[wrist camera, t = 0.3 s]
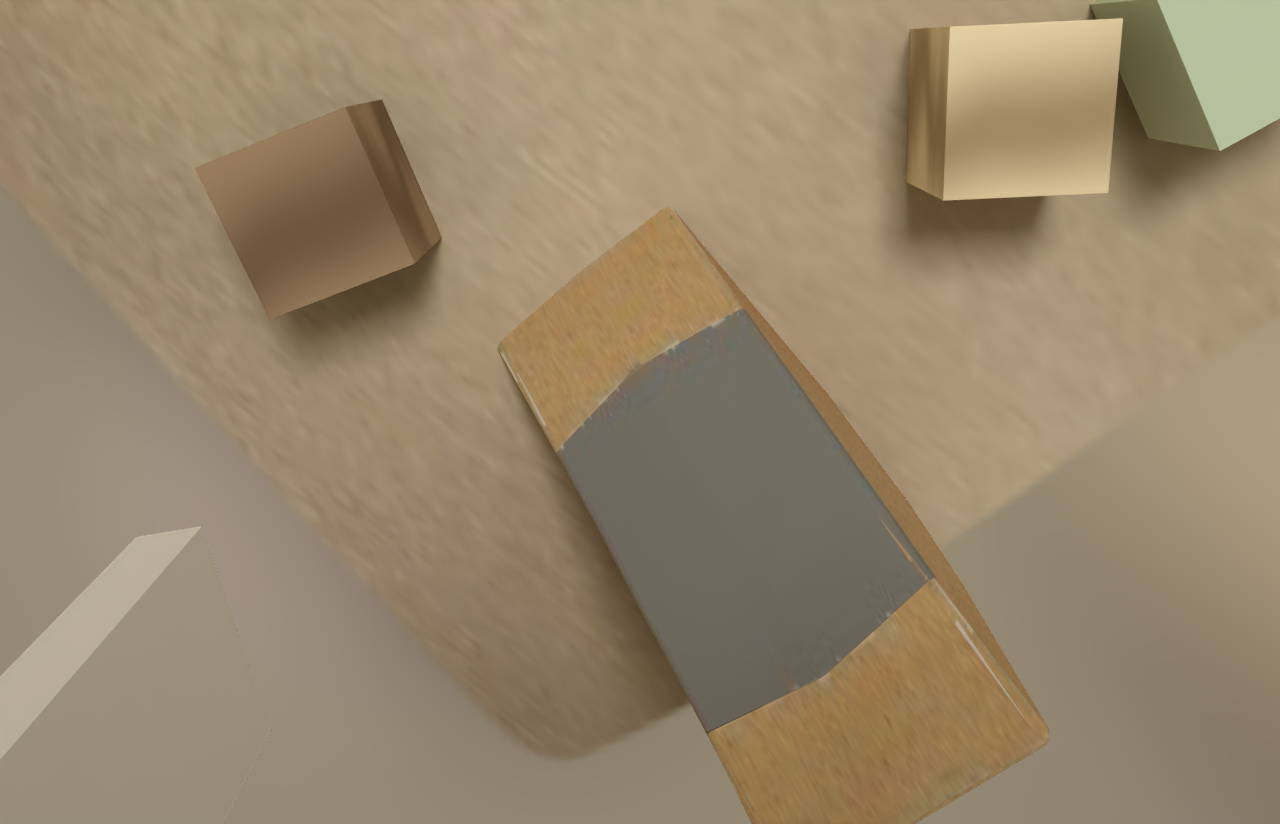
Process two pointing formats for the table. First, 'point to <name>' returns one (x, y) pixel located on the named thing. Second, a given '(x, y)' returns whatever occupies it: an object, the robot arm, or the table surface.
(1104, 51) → the maple cube
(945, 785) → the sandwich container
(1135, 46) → the sage cube
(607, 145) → the table surface
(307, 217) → the walnut cube
